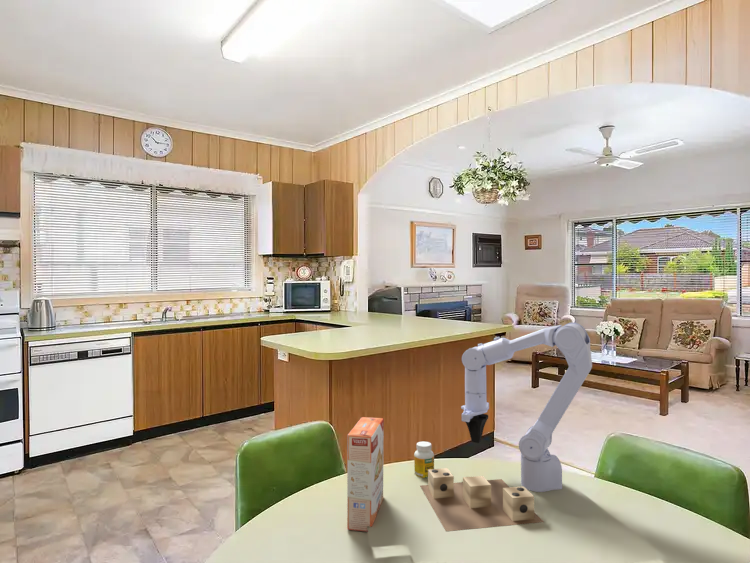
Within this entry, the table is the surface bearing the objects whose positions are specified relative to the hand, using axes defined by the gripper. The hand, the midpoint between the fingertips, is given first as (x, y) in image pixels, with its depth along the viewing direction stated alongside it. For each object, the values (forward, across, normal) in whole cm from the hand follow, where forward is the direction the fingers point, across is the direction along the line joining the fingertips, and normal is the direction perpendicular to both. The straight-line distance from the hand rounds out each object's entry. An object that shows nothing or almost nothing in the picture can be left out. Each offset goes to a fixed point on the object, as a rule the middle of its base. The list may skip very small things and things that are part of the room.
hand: (476, 441), depth 127 cm
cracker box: (+10, +33, -13) cm, 37 cm away
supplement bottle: (+10, +8, -12) cm, 17 cm away
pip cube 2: (+8, +16, +16) cm, 24 cm away
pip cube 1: (+8, +16, -3) cm, 18 cm away
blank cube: (+8, +16, +6) cm, 19 cm away
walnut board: (+10, +16, +6) cm, 20 cm away
